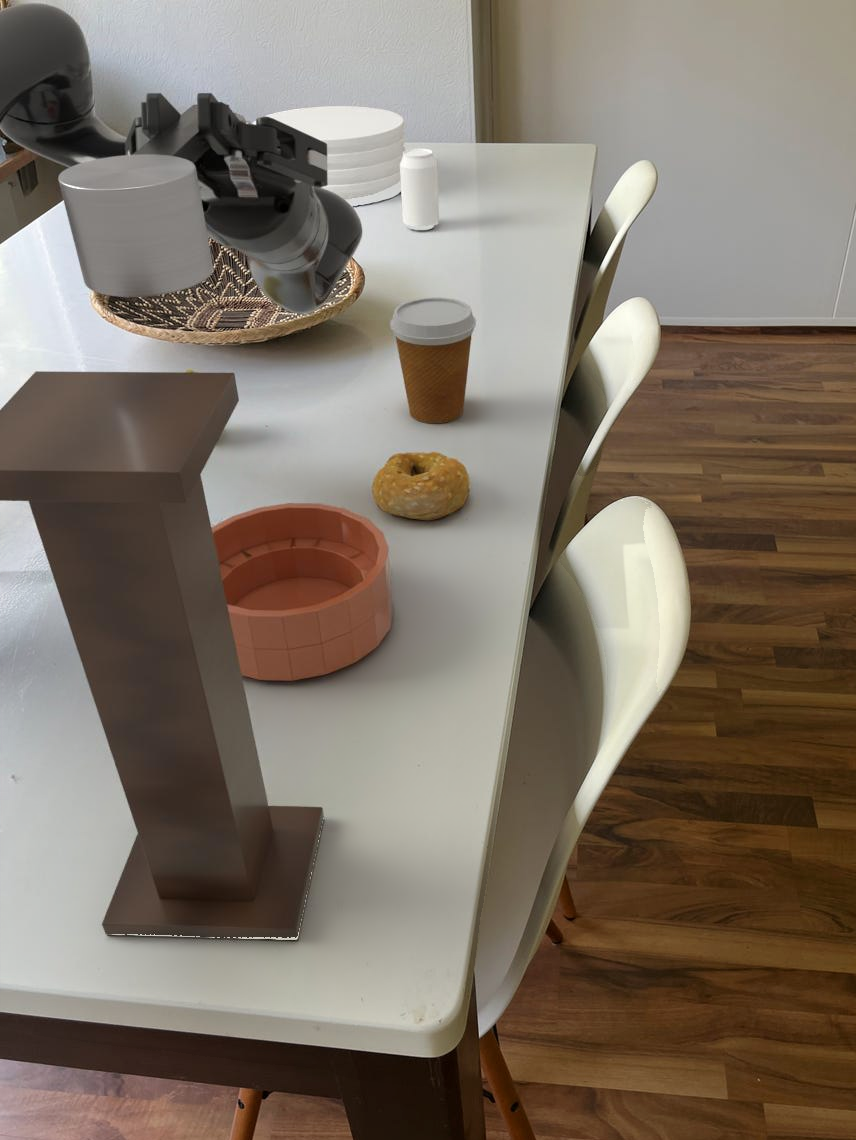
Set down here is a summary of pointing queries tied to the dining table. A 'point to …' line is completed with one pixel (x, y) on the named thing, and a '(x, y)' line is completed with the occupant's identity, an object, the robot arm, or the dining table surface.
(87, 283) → the metal mallet
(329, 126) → the plate stack
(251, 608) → the bowl
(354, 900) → the dining table surface
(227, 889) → the stand
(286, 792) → the dining table surface
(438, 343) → the disposable coffee cup
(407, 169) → the beverage can
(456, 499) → the bagel
